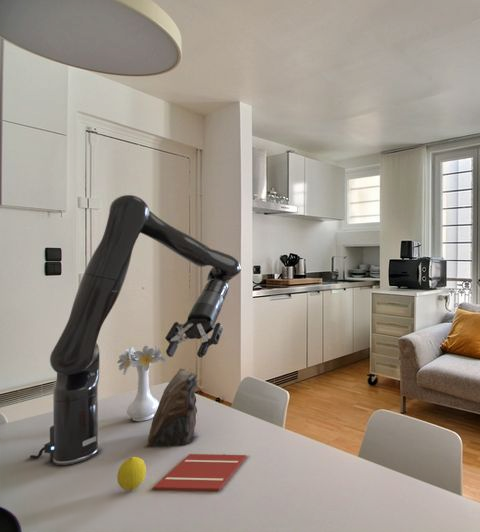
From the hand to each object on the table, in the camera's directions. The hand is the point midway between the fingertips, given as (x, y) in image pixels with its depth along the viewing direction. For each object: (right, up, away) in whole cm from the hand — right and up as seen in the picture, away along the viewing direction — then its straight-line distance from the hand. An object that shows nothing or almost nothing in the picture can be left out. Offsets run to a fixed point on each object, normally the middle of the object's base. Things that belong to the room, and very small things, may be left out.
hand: (184, 355), depth 102 cm
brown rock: (-10, -28, +11) cm, 32 cm away
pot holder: (+9, -29, -6) cm, 31 cm away
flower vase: (-30, -28, +25) cm, 48 cm away
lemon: (-4, -29, -14) cm, 32 cm away
